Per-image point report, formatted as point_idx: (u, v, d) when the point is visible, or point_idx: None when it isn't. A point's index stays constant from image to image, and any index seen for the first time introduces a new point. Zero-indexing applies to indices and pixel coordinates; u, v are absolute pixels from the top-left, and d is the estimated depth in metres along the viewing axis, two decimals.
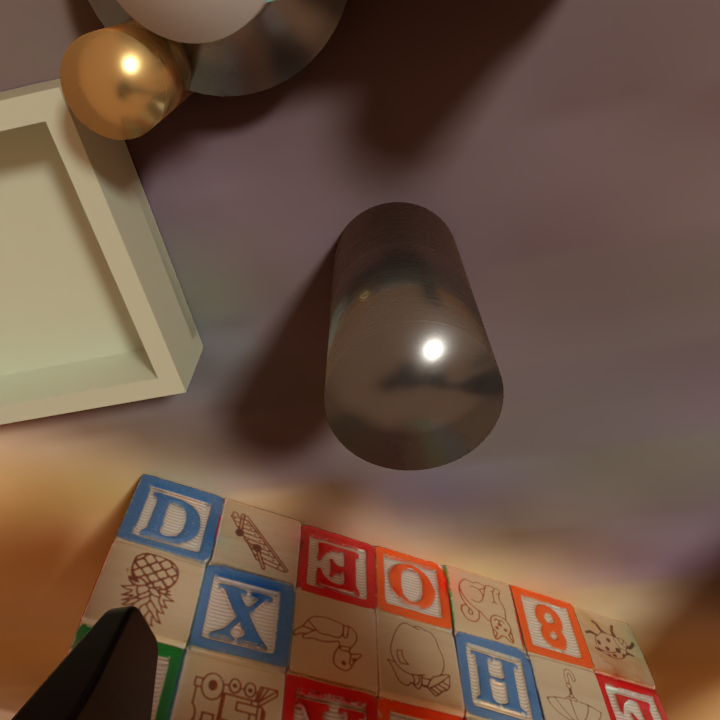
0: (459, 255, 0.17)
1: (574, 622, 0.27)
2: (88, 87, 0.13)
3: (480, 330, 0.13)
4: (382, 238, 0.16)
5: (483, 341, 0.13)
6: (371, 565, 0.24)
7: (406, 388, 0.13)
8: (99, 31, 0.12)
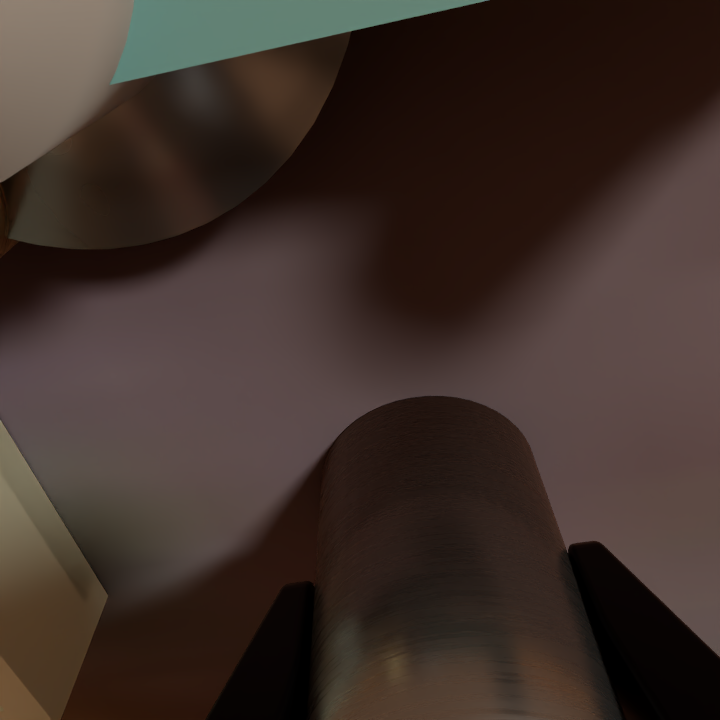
0: (551, 508, 0.09)
1: None
2: None
3: None
4: (414, 519, 0.08)
5: None
6: None
7: None
8: None
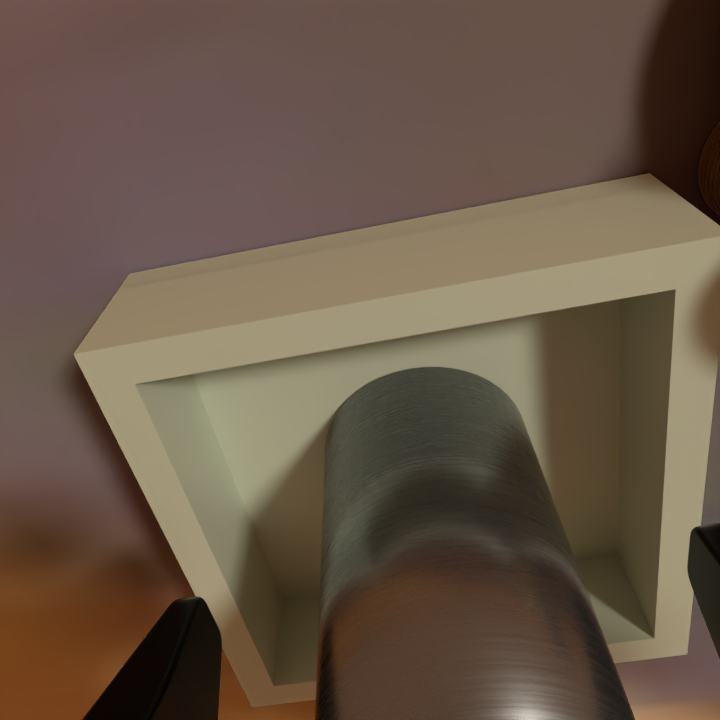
0: (541, 469, 0.10)
1: None
2: None
3: None
4: (414, 475, 0.09)
5: None
6: None
7: None
8: None
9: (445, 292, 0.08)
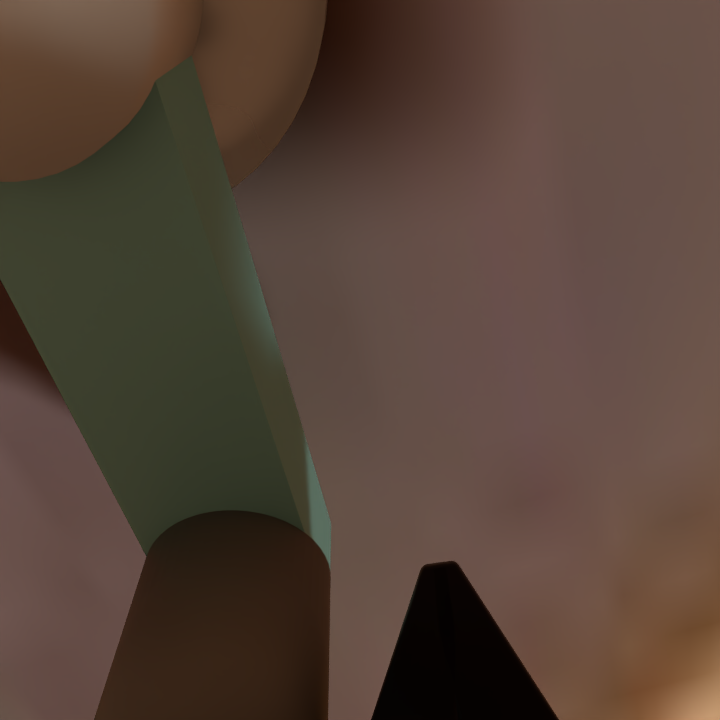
0: None
1: None
2: None
3: None
4: None
5: None
6: None
7: None
8: None
9: None
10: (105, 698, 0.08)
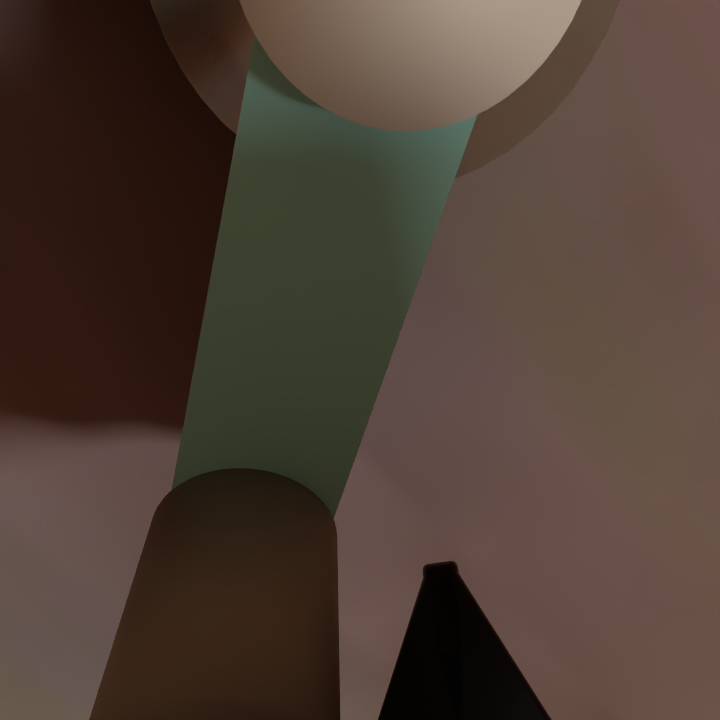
0: None
1: None
2: None
3: None
4: None
5: None
6: None
7: None
8: None
9: None
10: (154, 621, 0.07)
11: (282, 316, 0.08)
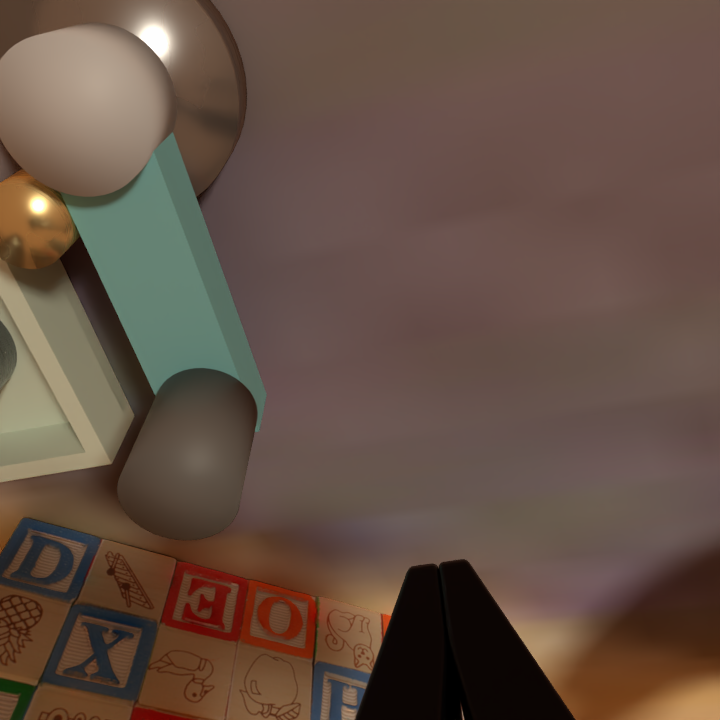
0: None
1: None
2: (0, 228, 0.15)
3: None
4: None
5: None
6: (242, 599, 0.26)
7: None
8: (6, 185, 0.14)
9: None
10: (135, 443, 0.16)
11: (144, 288, 0.16)
